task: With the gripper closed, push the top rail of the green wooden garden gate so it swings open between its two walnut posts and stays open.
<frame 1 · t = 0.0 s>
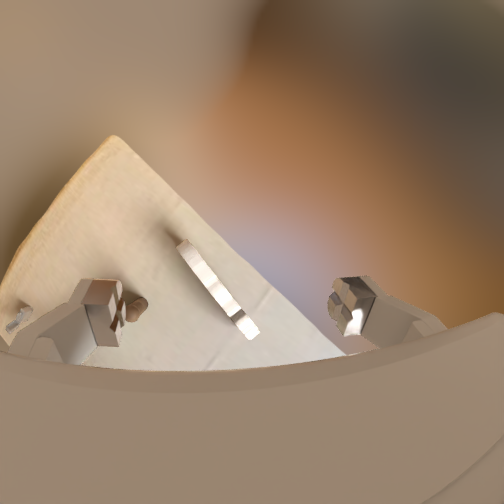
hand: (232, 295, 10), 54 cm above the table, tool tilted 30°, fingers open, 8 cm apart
cutout: (214, 288, 64), on the table
lighter: (26, 317, 52), on the table
gate posts: (105, 324, 57), on the table
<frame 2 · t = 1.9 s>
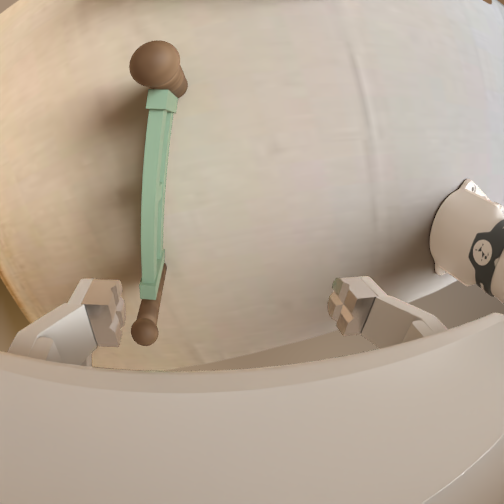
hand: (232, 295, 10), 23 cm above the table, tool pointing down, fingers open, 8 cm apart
gate: (154, 192, 25), point 5 cm above the table, hinge at 0.0°
gate posts: (162, 182, 29), on the table
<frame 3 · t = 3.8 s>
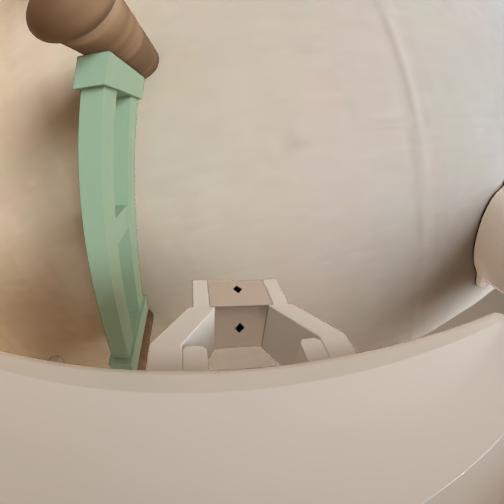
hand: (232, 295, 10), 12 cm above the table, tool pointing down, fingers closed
gate: (114, 224, 15), point 5 cm above the table, hinge at 0.0°
gate posts: (132, 202, 20), on the table
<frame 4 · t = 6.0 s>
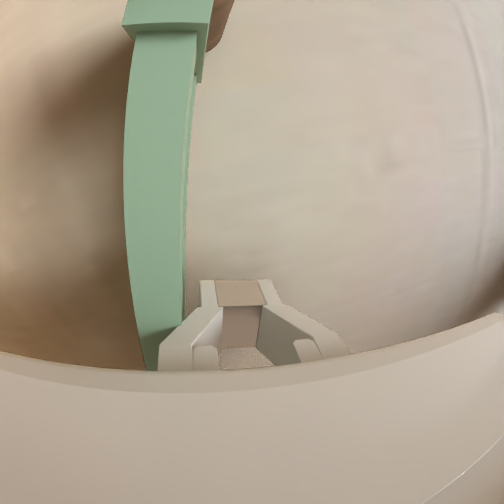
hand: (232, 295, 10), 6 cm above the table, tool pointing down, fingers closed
gate: (168, 285, 10), point 5 cm above the table, hinge at 0.8°, touching gripper
gate posts: (178, 234, 15), on the table
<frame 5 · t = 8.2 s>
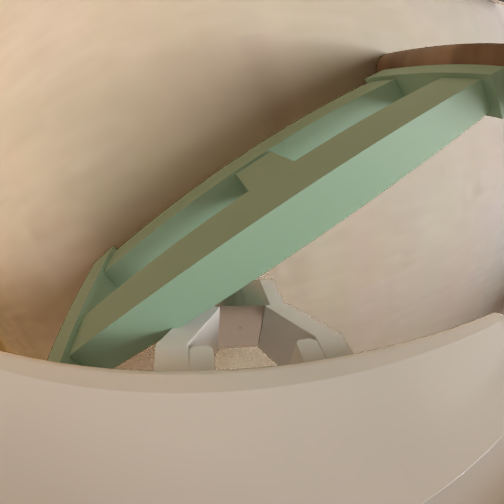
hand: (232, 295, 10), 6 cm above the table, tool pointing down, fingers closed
gate: (269, 180, 9), point 5 cm above the table, hinge at 51.5°, touching gripper
gate posts: (367, 238, 17), on the table
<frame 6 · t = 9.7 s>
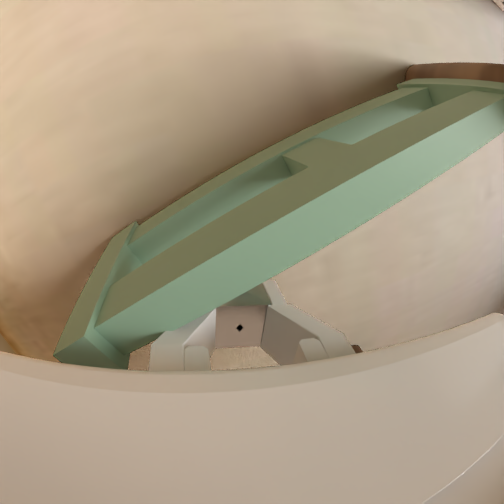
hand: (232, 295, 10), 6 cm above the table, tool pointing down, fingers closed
gate: (320, 163, 9), point 5 cm above the table, hinge at 56.1°, touching gripper
gate posts: (392, 239, 17), on the table
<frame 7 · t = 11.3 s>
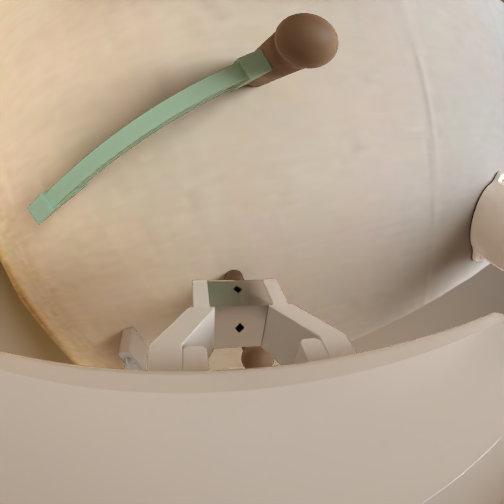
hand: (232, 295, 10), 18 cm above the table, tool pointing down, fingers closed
gate: (141, 130, 18), point 5 cm above the table, hinge at 56.4°
lighter: (140, 345, 34), on the table
gate posts: (242, 181, 26), on the table
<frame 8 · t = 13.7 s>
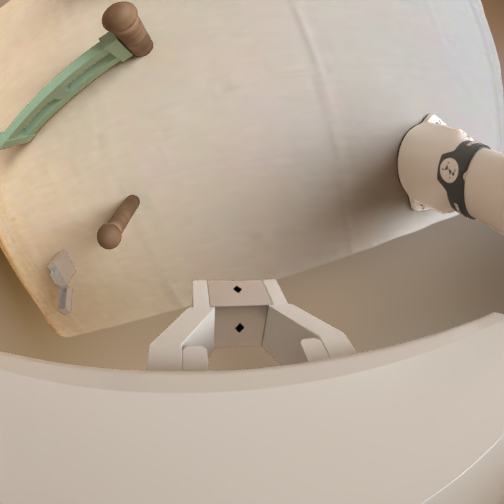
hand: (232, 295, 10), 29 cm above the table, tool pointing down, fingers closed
gate: (60, 92, 22), point 5 cm above the table, hinge at 56.5°
lighter: (71, 268, 38), on the table
gate posts: (133, 123, 31), on the table
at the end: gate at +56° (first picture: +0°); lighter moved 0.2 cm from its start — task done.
